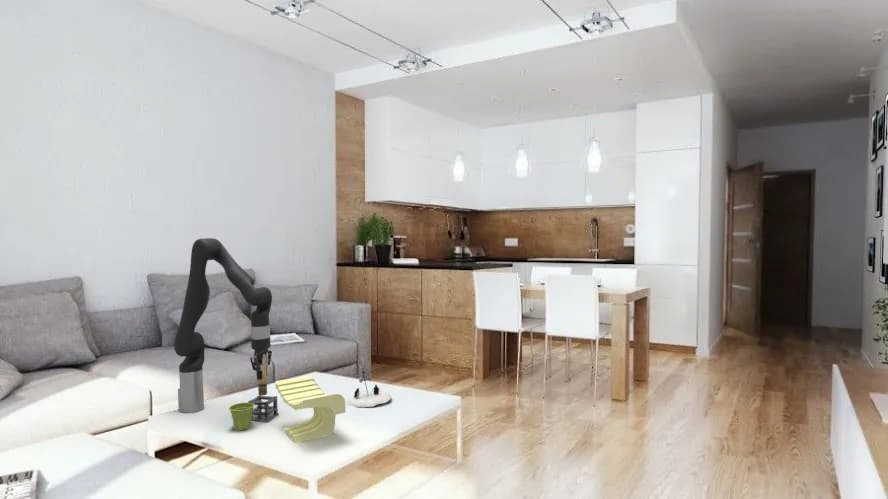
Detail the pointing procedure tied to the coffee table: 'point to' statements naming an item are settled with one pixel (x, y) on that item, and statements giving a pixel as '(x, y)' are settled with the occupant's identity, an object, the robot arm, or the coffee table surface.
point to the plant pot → (241, 415)
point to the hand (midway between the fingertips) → (262, 378)
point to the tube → (263, 380)
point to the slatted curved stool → (310, 396)
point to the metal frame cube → (269, 410)
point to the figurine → (368, 395)
